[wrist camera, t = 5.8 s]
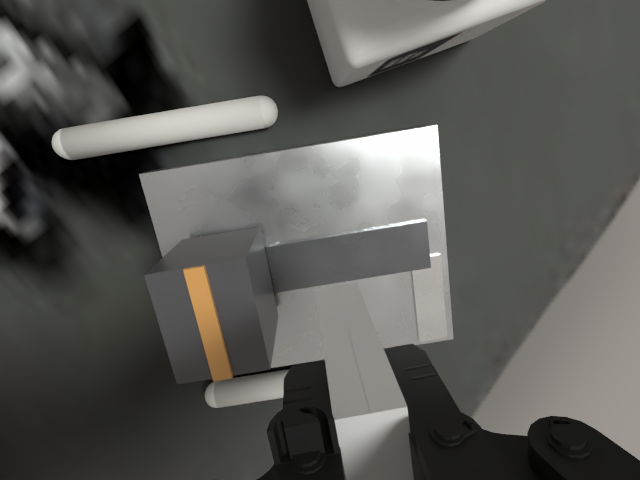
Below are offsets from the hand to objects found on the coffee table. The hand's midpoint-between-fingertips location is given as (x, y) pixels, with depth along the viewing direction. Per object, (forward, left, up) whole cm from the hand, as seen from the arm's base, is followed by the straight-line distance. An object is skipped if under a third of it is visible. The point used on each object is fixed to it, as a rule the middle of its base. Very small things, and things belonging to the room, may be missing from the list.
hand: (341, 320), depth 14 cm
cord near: (-7, +8, -9) cm, 14 cm away
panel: (-1, 0, -9) cm, 9 cm away
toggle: (-5, 0, -7) cm, 8 cm away
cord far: (-3, -8, -9) cm, 13 cm away
